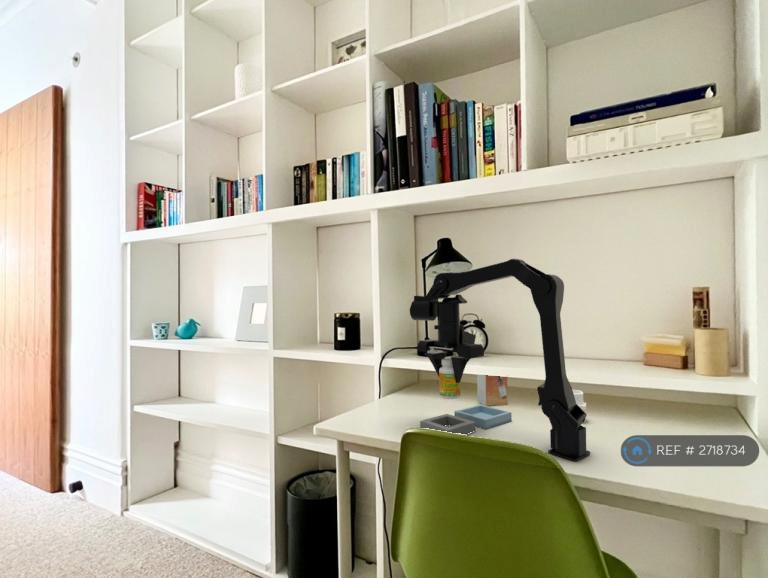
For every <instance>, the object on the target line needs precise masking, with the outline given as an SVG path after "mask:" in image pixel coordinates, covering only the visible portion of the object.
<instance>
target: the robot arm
mask: <svg viewBox="0 0 768 578" xmlns="http://www.w3.org/2000/svg"><path fill="white" fill-rule="evenodd" d="M509 278H515V279H516V280H517V281H518V282H520V283H521V284H522V285H523V286H525V287H527V288H528V289H529V290H530V293H531V297H532V301H533V303H534V305H535V308H536V310H537V312H538V315H539V321H540V332H541V342H542V353H543V363H544V372H545V377H544V378H545V380H544V382H543V383H542V384H540V385H538V386H537V389H536V390H537V394H538V404H537V406H541V407H540V408H541V412H542V413H543V415H545V416H546V418H548V420H549V423H550V426H551V429H550V430H549V433H550V435H549V437H550V439H549V440H550V444H549V445H550V449H549V450H548V453H549V454H550V455H553V456H554V455H555V456H558V457H562V458H564V459H568V460H571V461H573V462H577V461H579V460H582V459H583V458H585V457H588V456H590V455H591V451H589V450H587V426H583V425H582V424H584V423H585V421H586V418H587V413H586V412H585V410H584V409H583V410H582V409H581V408H580V407H579V406H578V405H577V404H576V401H575V397H574V394H573V390H574V389H573V388H572V385H571V383H570V381H569V379H568V377H567V369H566V362H565V360H566V359H565V350H564V340H563V329H562V321H561V320H562V319H561V311H562V307H563V302H564V294H565V284H564V281H563V279H561V278H560V277H559V276H558V275H556V274H555V275H554V274H549V273H547V274H546V273H545V272H543V271H541V270H539V269H538V268H536V267H533V266H532V265H530V264H529V263H527V262H526V261H525V260H523V259H519V258H511V259H509V260H506V261H502V262H498V263H494V264H491V265H490V264H489V265H487V266H483V267H478V268H475V269H471V270H467V271H454V272H453V271H452V272H440V273H437V274H436V275H435V277H434V279H433V284H432V286H431V287H430V289H428V292H427V294H426V295H413V301H412V302H411V304H410V307H409V315H410V317H411V319H412V320H413V321H426V322H427V321H428V322H429V321H430V322H431V321H432V322H433V321H436V319H437V324H436V325H434V330H437V339H432V338H431V339H423V340H419V341H418V343H417V351H418V352H423V353H424V355H425V356H427V357H428V359H429V361H430V363H431V364H432V366H433V369H434V371H435V372H436V374H437V377H438V378H439V369H440V368H441V367H443V365H442V359H445V358H446V357H447V354H448V352H450V353H456V355H455V356H451V357H450V358H451V360H452V365H453V371H454V376H455V380H456V383H460V384H461V381H462V379H463V374H464V372H465V368H466V367H467V363H468V362H469V361H470V360H471V359H474V358H477V357H483V356H485V348H484V346H483V344H481V343H476V337H477V335H475V334H473V333H471V332H468V331H465V327H464V324H461V323H460V320H461V319H460V304H461V305H462V304H467V303H468V301H467V300H466V299H465V298H464V297H463V296H462V294H460V293H463V292H464V291H466V290H469V289H470V288H472V287H475V286H477V285H482V284H486V283H491V282H494V281H499V280H504V279H509ZM450 296H452V297H450ZM453 296H454V297H453ZM441 299H442V300H441ZM439 300H441V301H439Z"/></svg>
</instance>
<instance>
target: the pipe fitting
mask: <svg viewBox="0 0 768 578" xmlns="http://www.w3.org/2000/svg"><path fill="white" fill-rule="evenodd" d="M572 390H573V394H574V397H575V401H576V404H577V405H578V406H579V407H580V408H581V409H582V410H583V411H584V410H587V409H586V408H587V402H584V392H583V391H582V390H578V389H572Z"/></svg>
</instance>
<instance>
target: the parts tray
mask: <svg viewBox="0 0 768 578" xmlns="http://www.w3.org/2000/svg"><path fill="white" fill-rule="evenodd" d="M512 415H513V414H512V412H511V411H508V410H504V409H500V408H495V407H492V406H485V405H483V404H476V405H472V406H468V407H465V408H461V409H458V410H454V416H456V417H460V418H463V419H466V420H470V421H473V422H475V427H476V426H477V428H479V427H481V428H480V429H482V428H485V429H484V430H489V429H491V428H496V427H498V426H501V425H505V424H507V423H511V422H512V419H513V418H512ZM495 426H496V427H495ZM488 428H489V429H488Z"/></svg>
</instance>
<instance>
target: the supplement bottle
mask: <svg viewBox="0 0 768 578" xmlns="http://www.w3.org/2000/svg"><path fill="white" fill-rule="evenodd" d="M442 365H443V367H441V368H440V369H439V377H438V378H439V380H438V381H439V396H440V397H439V398H442V399H447V400H453V399H454V400H455V399H460V398H461V382H460V383H456V380H455V376H454V371H453V365H452V360H451V357H449V358H446V357H445V359H442Z"/></svg>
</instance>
